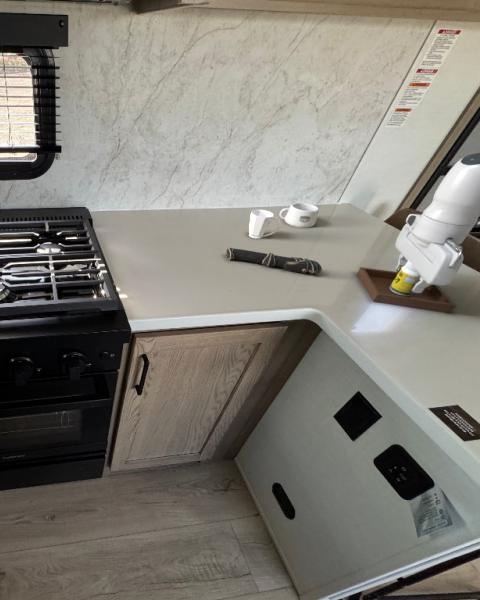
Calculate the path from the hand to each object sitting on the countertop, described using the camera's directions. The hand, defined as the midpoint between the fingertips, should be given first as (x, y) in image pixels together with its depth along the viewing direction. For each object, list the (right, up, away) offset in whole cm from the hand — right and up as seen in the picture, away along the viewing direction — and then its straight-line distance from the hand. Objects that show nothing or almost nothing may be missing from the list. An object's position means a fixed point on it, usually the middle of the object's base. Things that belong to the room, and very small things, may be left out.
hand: (407, 281), depth 86 cm
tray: (0, -3, +2) cm, 4 cm away
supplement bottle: (0, -3, +2) cm, 3 cm away
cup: (-22, +16, +29) cm, 40 cm away
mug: (-4, +23, +38) cm, 45 cm away
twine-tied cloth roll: (-27, +5, +14) cm, 31 cm away
